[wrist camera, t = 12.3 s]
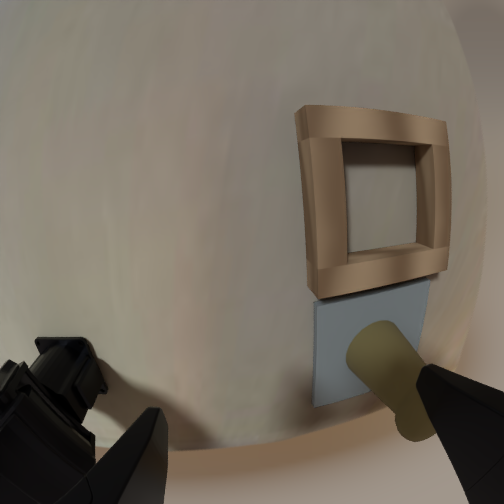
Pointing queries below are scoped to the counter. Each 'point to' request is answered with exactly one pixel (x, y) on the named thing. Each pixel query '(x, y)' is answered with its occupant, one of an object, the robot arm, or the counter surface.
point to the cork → (391, 375)
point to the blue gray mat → (350, 324)
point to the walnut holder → (334, 199)
